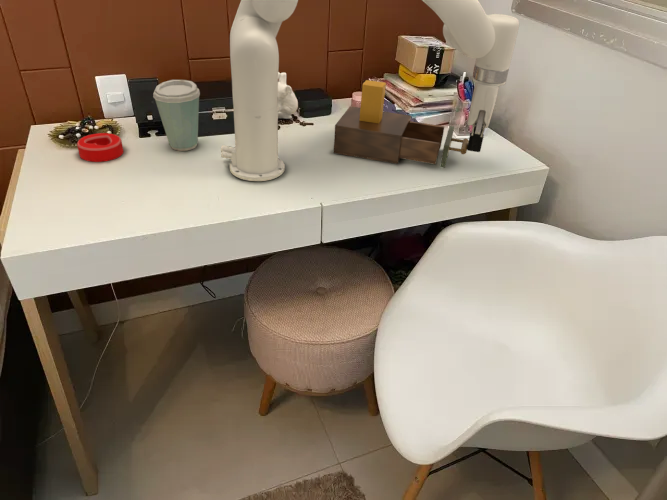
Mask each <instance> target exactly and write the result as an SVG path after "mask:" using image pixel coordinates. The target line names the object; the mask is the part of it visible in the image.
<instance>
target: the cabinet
mask: <svg viewBox="0 0 667 500" xmlns="http://www.w3.org/2000/svg"><path fill="white" fill-rule="evenodd" d="M411 117H412V115H410V114H402V113H396V112H389V111H384V110H383V115H382V119H381V121H380V122H379V124H378V123H372V122H365V121H359V119H360V107H358V106H351V105H350V106H349V107H348V108H347V110H346V111H345V112H344V113H343V114H342V115H341V117H340V118H339V119H338V121H337V122H336V123H335V125H334V135H333V136H334V137H333V154H337V155H341V156H342V155H343V156H347V157H354V158H360V159H366V160H372V161H376V162H384V163H389V164H394V165H398V164H399V162H400V161H401V158H399V153H400V146H401V139H402V136H403V133H404V131H405V129H406V127H407V125H408V123H409V121H412V120H411Z"/></svg>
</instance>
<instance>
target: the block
mask: <svg viewBox="0 0 667 500" xmlns="http://www.w3.org/2000/svg"><path fill="white" fill-rule="evenodd" d="M361 85H362V86H361V96H360V97H361V98H360V107H359V108H360V119H359V121H365V122H372V123H378V124H379V122H380V121H381V119H382V115H383V111H384V107H385V96H386V95H385V94H386V86H387V82H383V81H376V80H370V79H366V80H365V81H364V82H363V83H362V84H361Z"/></svg>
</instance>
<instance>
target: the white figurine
mask: <svg viewBox="0 0 667 500" xmlns="http://www.w3.org/2000/svg"><path fill="white" fill-rule="evenodd" d="M298 108H299V102H298V99H297V96H296V94H295V92H294V91H293V88H292V87H291V86H290V85H288V84H287V73H286V72H281V73H280V71H278V119H284V120H285V119H286V120H290V119H292V118H293V116H292V115H293V114H294V113H296V112H297V110H298Z"/></svg>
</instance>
